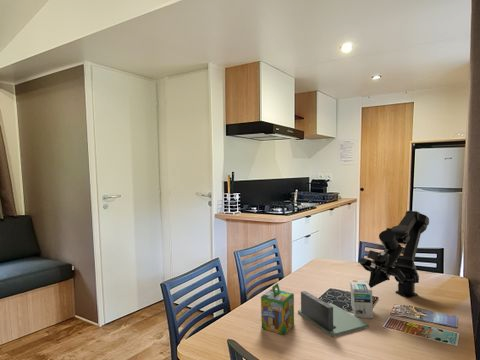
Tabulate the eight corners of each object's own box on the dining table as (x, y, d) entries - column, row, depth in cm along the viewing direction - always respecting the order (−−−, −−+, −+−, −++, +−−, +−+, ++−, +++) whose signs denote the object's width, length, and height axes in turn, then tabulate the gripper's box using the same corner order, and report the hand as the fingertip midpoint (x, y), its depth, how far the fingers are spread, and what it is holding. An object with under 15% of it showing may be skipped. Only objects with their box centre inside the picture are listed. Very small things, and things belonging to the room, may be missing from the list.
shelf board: (331, 305, 131) (331, 302, 131) (368, 327, 113) (368, 324, 113) (298, 312, 125) (298, 310, 125) (332, 337, 106) (332, 334, 106)
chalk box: (284, 335, 108) (284, 292, 107) (260, 329, 113) (260, 287, 112) (295, 324, 116) (294, 283, 115) (272, 318, 120) (271, 279, 120)
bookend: (309, 310, 124) (309, 290, 124) (337, 329, 110) (337, 305, 109) (301, 312, 123) (300, 291, 122) (328, 331, 108) (328, 308, 108)
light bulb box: (373, 318, 119) (372, 289, 118) (354, 317, 120) (353, 289, 120) (368, 306, 129) (367, 280, 129) (350, 305, 130) (349, 279, 130)
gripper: (362, 238, 136) (341, 267, 132) (400, 248, 119) (378, 282, 115) (375, 254, 139) (356, 283, 135) (414, 266, 122) (393, 300, 118)
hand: (369, 286), depth 126 cm, fingers closed
